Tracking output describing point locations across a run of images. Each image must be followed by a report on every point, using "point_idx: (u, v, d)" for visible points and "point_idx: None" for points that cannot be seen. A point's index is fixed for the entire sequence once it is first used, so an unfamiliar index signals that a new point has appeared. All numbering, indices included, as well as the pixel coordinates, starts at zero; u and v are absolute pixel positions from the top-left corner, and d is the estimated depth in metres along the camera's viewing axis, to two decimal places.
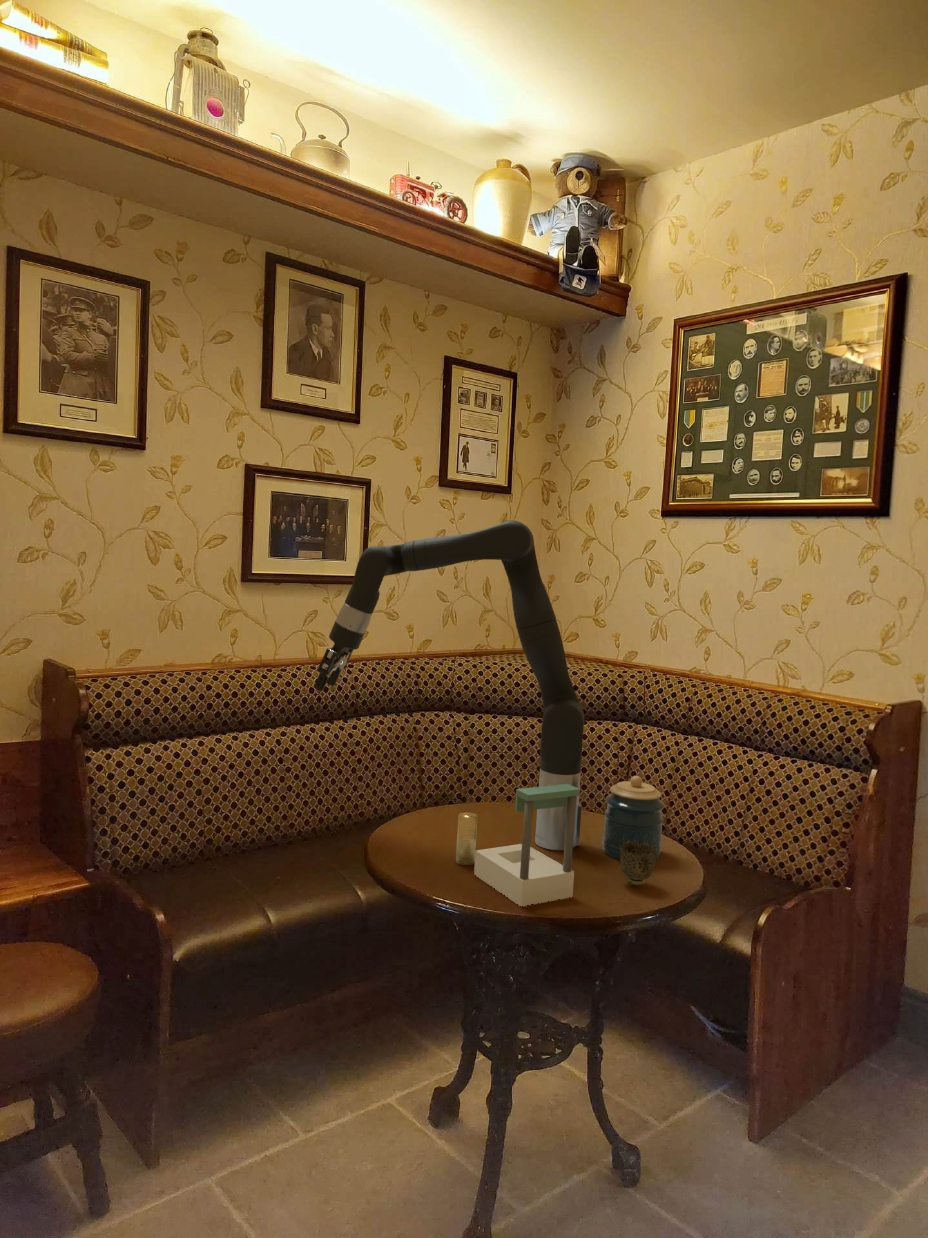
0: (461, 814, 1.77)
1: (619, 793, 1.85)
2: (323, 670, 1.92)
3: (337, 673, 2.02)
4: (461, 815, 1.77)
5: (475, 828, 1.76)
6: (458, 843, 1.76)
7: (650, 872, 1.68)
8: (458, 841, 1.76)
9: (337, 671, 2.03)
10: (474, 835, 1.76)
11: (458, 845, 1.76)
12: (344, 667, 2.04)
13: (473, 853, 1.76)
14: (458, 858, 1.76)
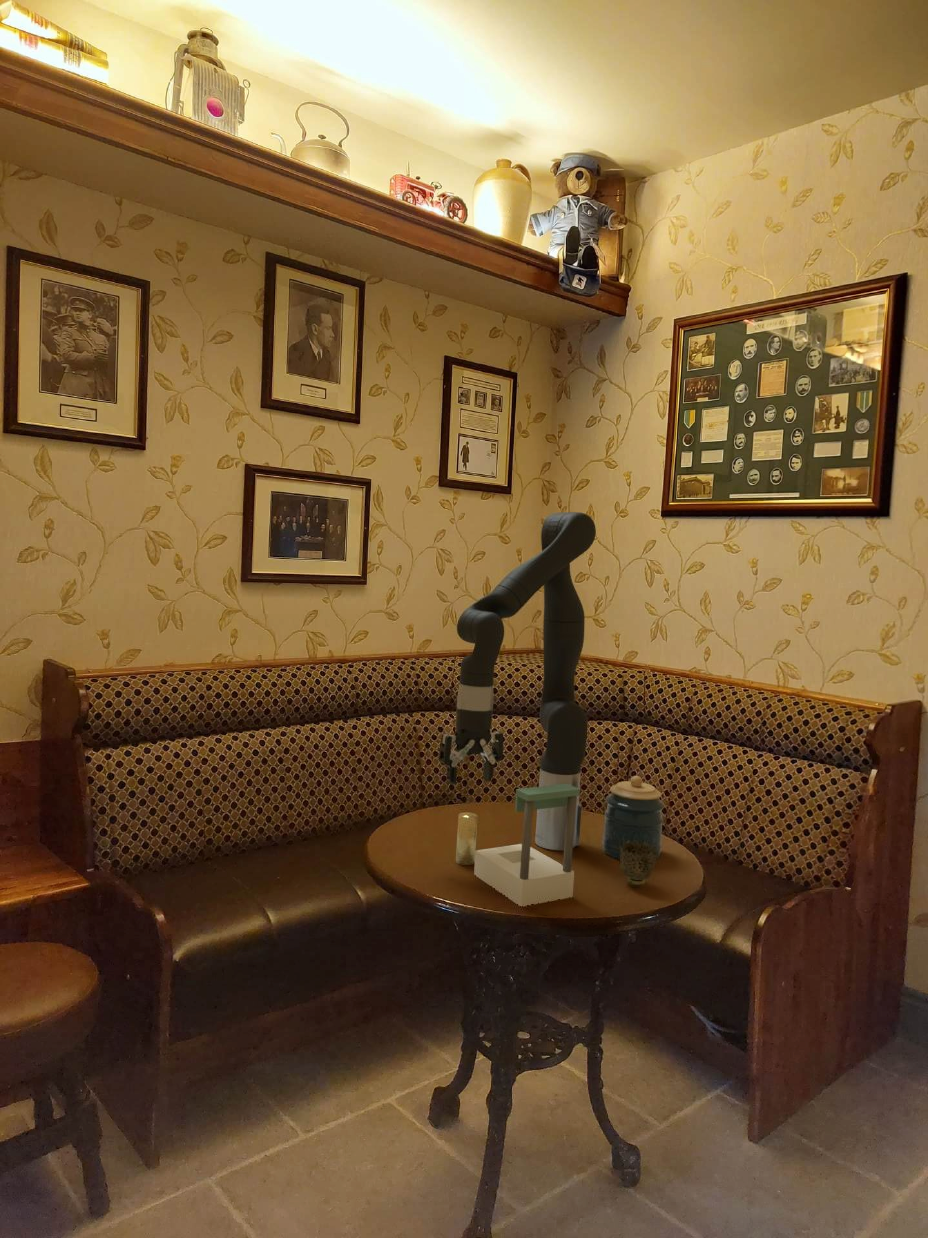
0: (461, 814, 1.77)
1: (619, 793, 1.85)
2: None
3: None
4: (461, 815, 1.77)
5: (475, 828, 1.76)
6: (458, 843, 1.76)
7: (650, 872, 1.68)
8: (458, 841, 1.76)
9: None
10: (474, 835, 1.76)
11: (458, 845, 1.76)
12: None
13: (473, 853, 1.76)
14: (458, 858, 1.76)
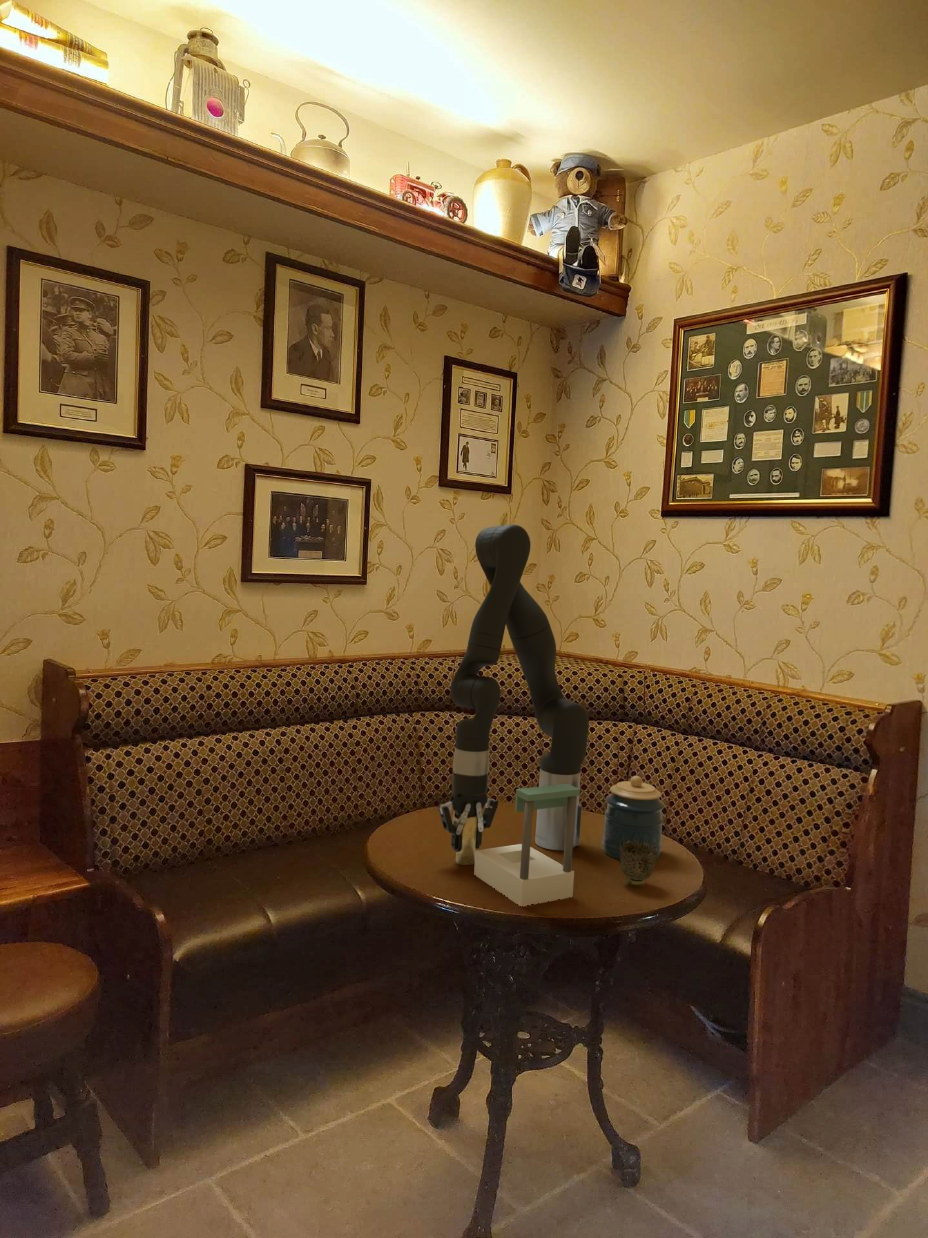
0: None
1: (619, 793, 1.85)
2: None
3: None
4: None
5: (475, 828, 1.76)
6: None
7: (650, 872, 1.68)
8: None
9: None
10: (474, 835, 1.76)
11: None
12: None
13: (473, 853, 1.76)
14: (458, 858, 1.76)
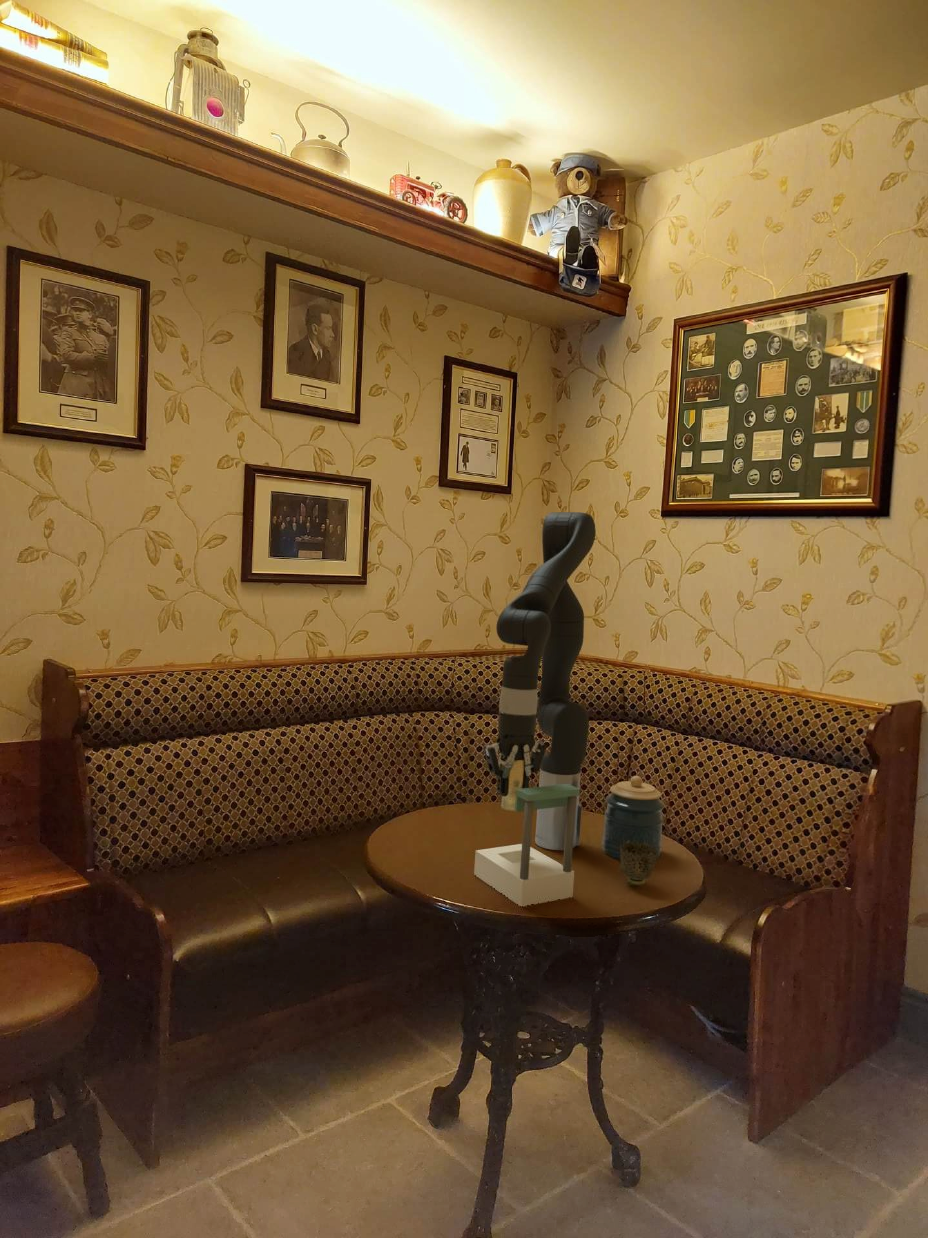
0: None
1: (619, 793, 1.85)
2: None
3: None
4: None
5: (522, 772, 1.67)
6: None
7: (650, 872, 1.68)
8: None
9: None
10: (521, 779, 1.67)
11: None
12: None
13: None
14: (504, 803, 1.67)
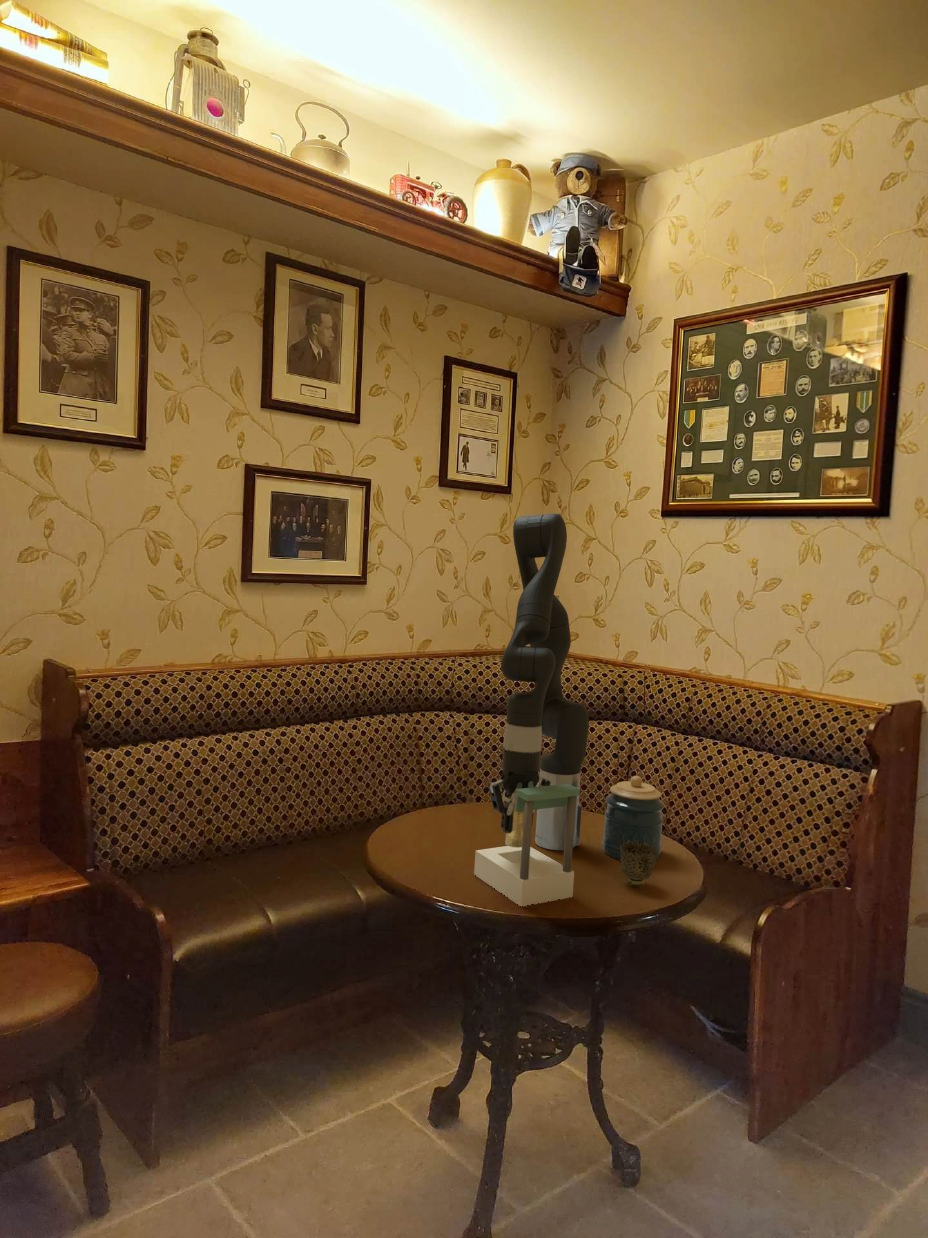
0: None
1: (619, 793, 1.85)
2: None
3: None
4: None
5: None
6: None
7: (650, 872, 1.68)
8: None
9: None
10: None
11: None
12: None
13: None
14: (508, 840, 1.67)
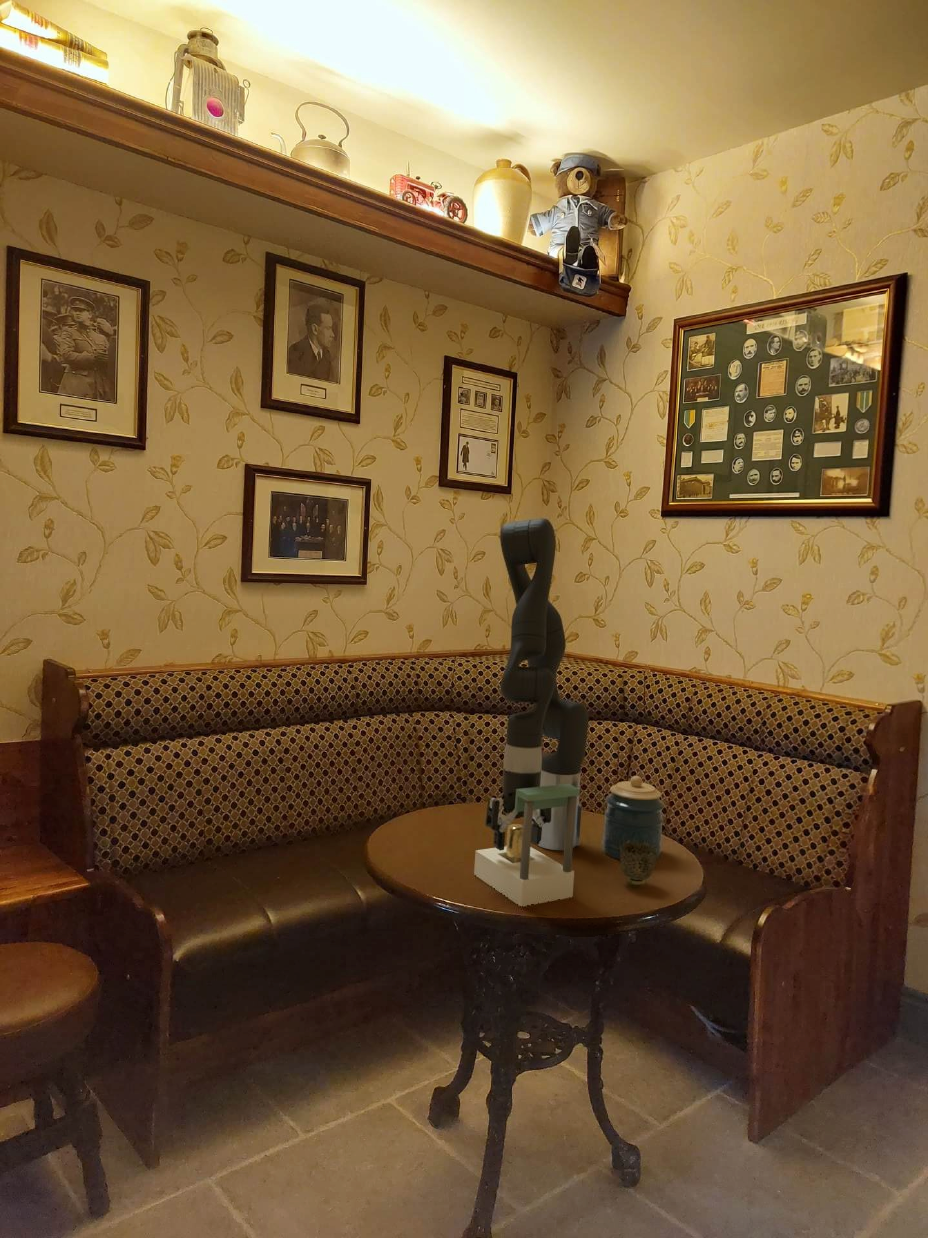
0: (510, 826, 1.68)
1: (619, 793, 1.85)
2: None
3: None
4: (510, 827, 1.67)
5: None
6: (507, 857, 1.67)
7: (650, 872, 1.68)
8: (507, 854, 1.67)
9: None
10: None
11: (507, 859, 1.67)
12: None
13: None
14: None
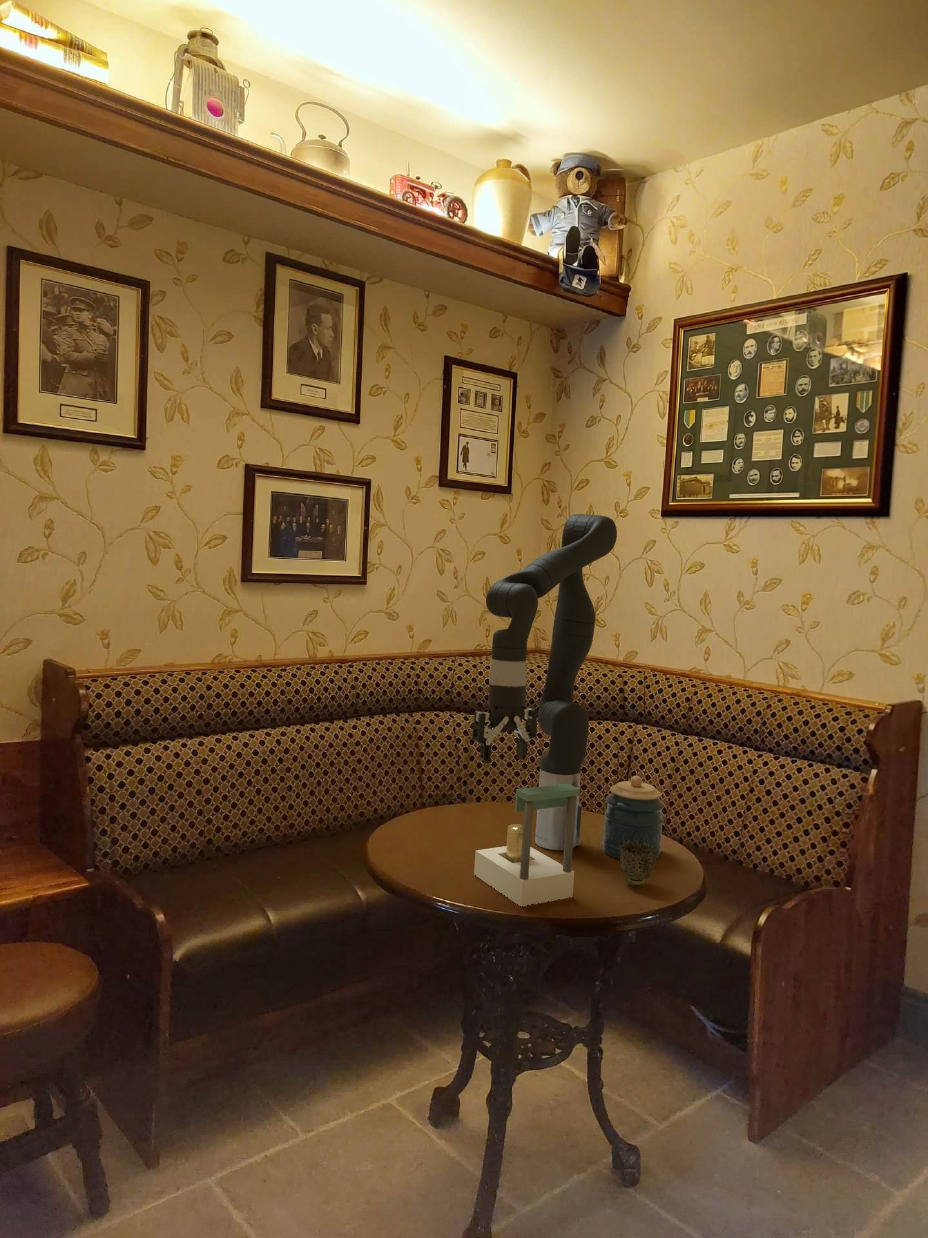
0: (510, 826, 1.68)
1: (619, 793, 1.85)
2: None
3: None
4: (511, 827, 1.67)
5: None
6: (507, 857, 1.67)
7: (650, 872, 1.68)
8: (507, 854, 1.67)
9: None
10: None
11: (507, 859, 1.67)
12: None
13: None
14: None
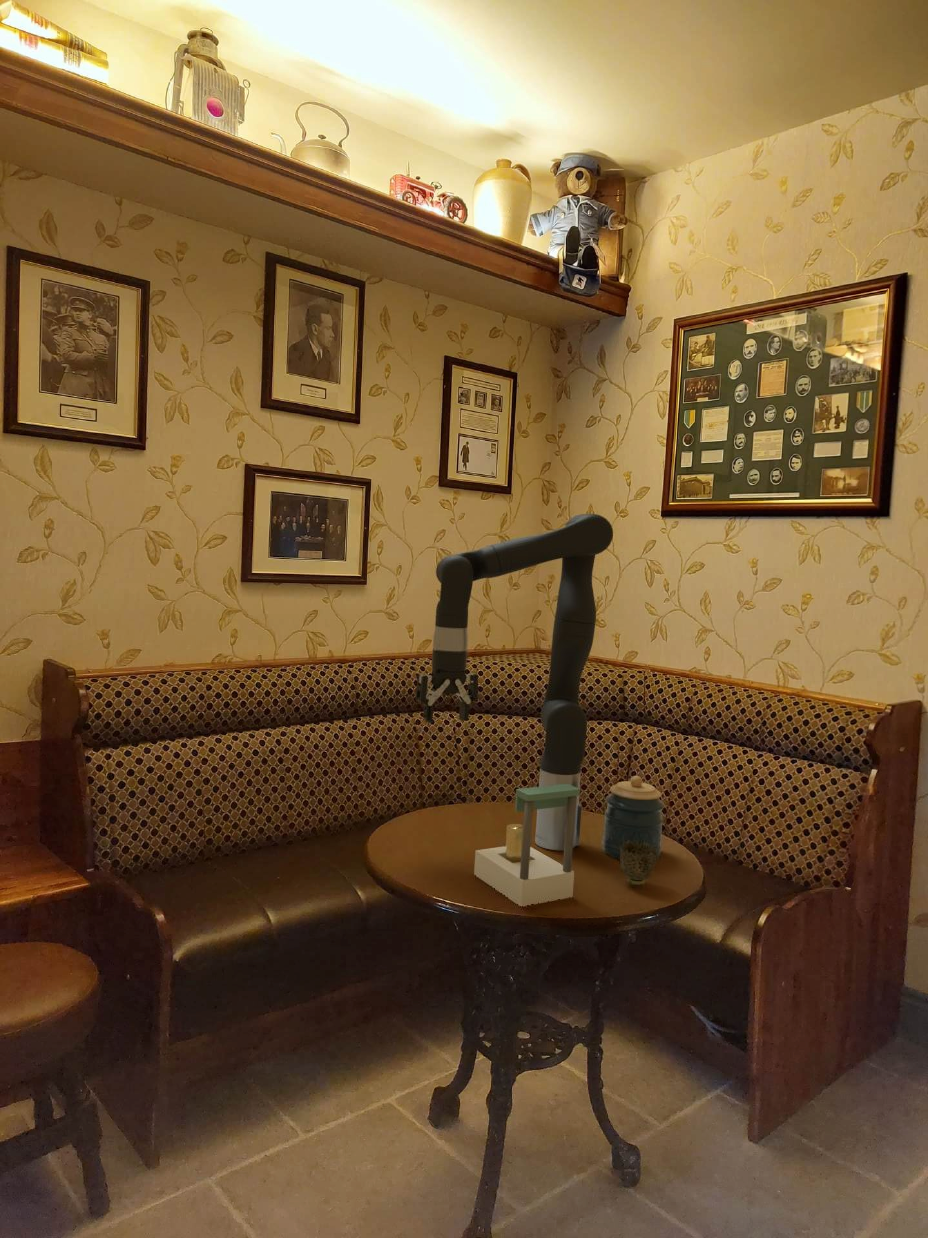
0: (509, 826, 1.68)
1: (619, 793, 1.85)
2: None
3: None
4: (509, 827, 1.67)
5: None
6: (507, 856, 1.67)
7: (650, 872, 1.68)
8: (507, 854, 1.67)
9: None
10: None
11: (507, 859, 1.67)
12: None
13: None
14: None
